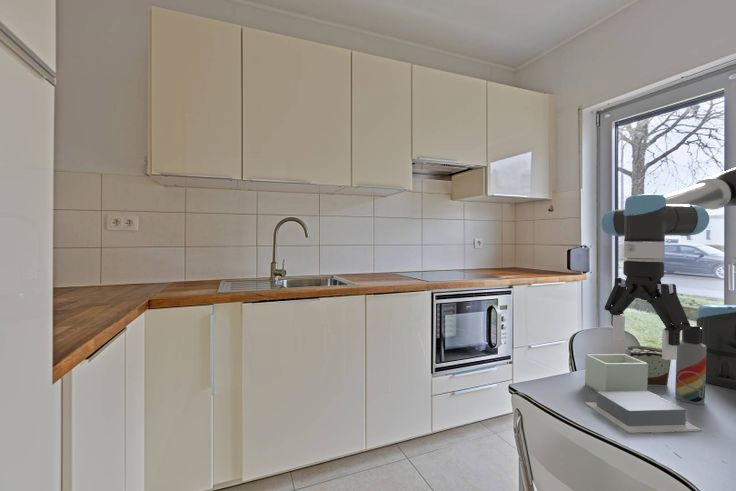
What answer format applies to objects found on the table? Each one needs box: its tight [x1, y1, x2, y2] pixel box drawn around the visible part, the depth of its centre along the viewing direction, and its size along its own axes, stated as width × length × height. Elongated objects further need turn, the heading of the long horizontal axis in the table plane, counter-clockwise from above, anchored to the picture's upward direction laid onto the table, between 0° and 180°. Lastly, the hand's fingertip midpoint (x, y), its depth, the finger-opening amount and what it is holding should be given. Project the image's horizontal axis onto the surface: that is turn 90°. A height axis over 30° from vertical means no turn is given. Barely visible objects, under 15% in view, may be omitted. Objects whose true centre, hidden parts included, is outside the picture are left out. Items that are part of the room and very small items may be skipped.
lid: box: [596, 390, 687, 426], centre depth 80 cm, size 14×9×4 cm
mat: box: [585, 401, 701, 434], centre depth 80 cm, size 17×13×1 cm
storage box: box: [584, 353, 648, 393], centre depth 94 cm, size 12×8×9 cm, turn 94°
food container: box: [623, 345, 672, 387], centre depth 101 cm, size 12×6×10 cm, turn 84°
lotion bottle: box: [674, 324, 706, 405], centre depth 89 cm, size 6×6×20 cm
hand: (641, 349), depth 80 cm, fingers open, 13 cm apart
